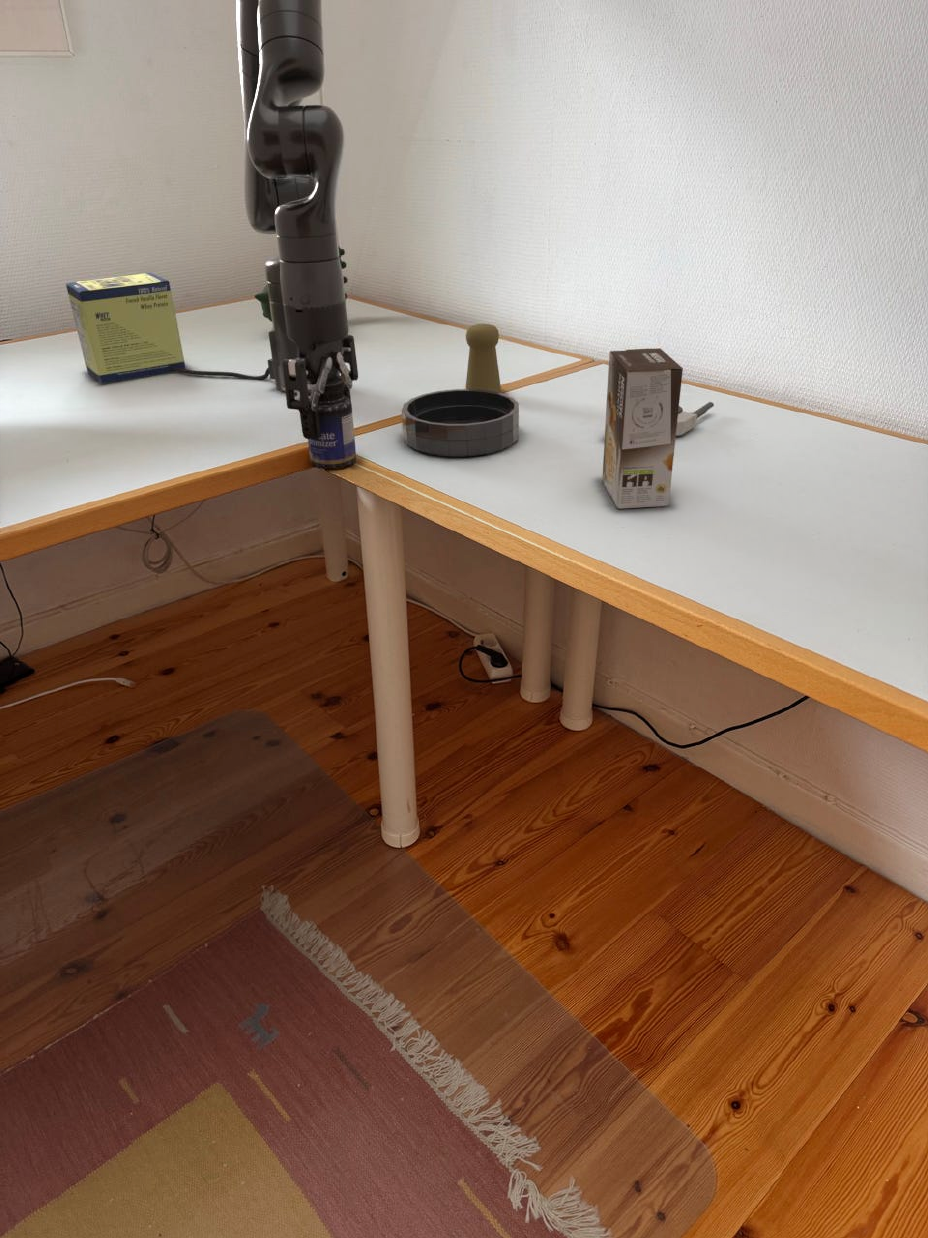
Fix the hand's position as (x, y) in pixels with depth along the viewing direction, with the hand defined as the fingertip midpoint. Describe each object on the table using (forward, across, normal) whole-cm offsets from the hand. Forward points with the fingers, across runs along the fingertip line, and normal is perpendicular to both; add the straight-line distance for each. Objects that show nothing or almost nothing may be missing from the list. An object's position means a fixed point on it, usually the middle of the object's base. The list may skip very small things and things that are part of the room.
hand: (328, 427), depth 112 cm
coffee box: (+5, -2, +40) cm, 41 cm away
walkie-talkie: (+5, -26, +39) cm, 47 cm away
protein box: (+5, -30, -57) cm, 64 cm away
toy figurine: (+6, -67, -43) cm, 80 cm away
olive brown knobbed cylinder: (+5, -34, +9) cm, 36 cm away
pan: (+5, -14, +13) cm, 20 cm away
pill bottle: (+5, 0, 0) cm, 5 cm away
